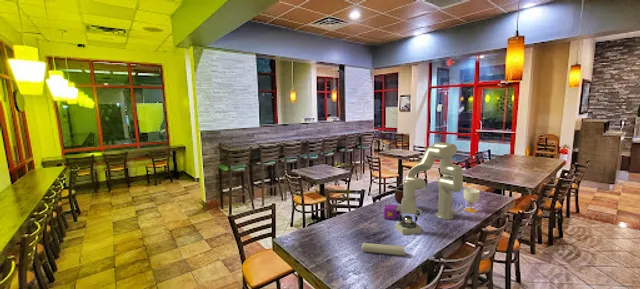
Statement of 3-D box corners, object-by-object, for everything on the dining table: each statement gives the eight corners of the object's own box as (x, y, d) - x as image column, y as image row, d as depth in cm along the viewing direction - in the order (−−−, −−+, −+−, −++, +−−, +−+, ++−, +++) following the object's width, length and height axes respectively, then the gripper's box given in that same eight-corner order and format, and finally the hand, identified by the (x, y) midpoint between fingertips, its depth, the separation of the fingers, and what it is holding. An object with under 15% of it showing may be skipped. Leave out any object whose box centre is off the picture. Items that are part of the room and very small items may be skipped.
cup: (463, 212, 222) (464, 191, 220) (461, 207, 233) (462, 187, 231) (479, 214, 218) (481, 193, 215) (477, 208, 229) (478, 189, 226)
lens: (404, 223, 194) (404, 215, 194) (411, 224, 193) (412, 215, 192) (404, 226, 190) (404, 217, 189) (411, 227, 188) (412, 218, 187)
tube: (360, 247, 163) (404, 251, 157) (361, 240, 168) (404, 244, 162) (361, 253, 166) (404, 258, 160) (361, 246, 170) (403, 250, 164)
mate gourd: (394, 210, 228) (394, 187, 225) (394, 205, 241) (395, 182, 238) (413, 212, 224) (414, 188, 221) (413, 206, 237) (413, 184, 234)
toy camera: (402, 221, 208) (402, 208, 206) (383, 220, 210) (384, 207, 209) (401, 215, 218) (401, 203, 217) (383, 214, 221) (383, 202, 219)
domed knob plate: (413, 226, 198) (413, 219, 197) (421, 232, 188) (421, 225, 188) (395, 228, 195) (395, 221, 195) (402, 235, 185) (402, 227, 185)
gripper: (422, 196, 189) (421, 220, 192) (396, 194, 195) (395, 217, 197) (422, 200, 182) (421, 224, 185) (395, 197, 188) (395, 221, 190)
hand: (408, 220), depth 191 cm, fingers open, 9 cm apart
